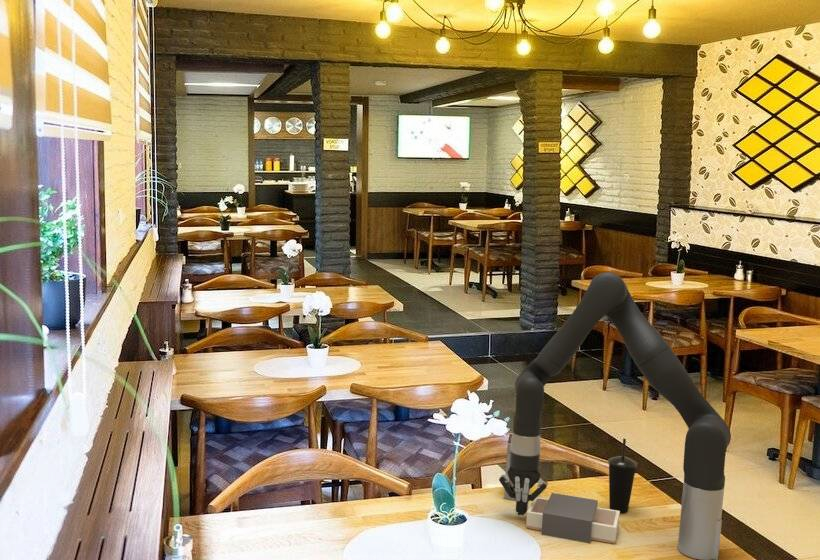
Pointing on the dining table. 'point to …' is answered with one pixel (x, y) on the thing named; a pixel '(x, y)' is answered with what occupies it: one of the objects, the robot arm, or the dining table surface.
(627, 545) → the dining table surface
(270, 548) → the dining table surface
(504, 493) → the coffee box
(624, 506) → the drinking cup
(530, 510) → the sliding drawer box
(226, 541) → the dining table surface
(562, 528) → the sleeve
